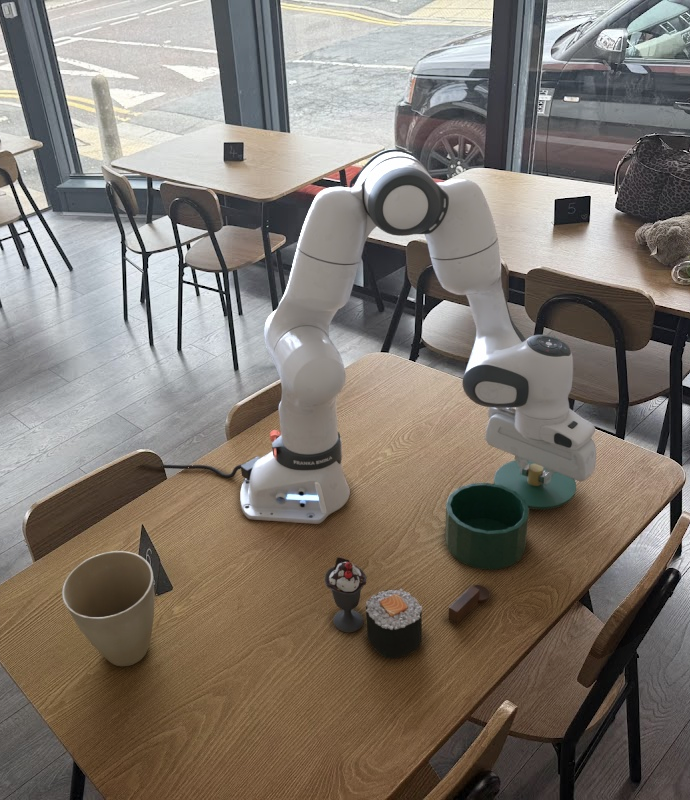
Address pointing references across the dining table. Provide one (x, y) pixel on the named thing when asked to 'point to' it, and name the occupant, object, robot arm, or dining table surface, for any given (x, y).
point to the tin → (486, 525)
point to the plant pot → (113, 604)
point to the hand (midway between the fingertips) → (535, 478)
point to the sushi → (394, 623)
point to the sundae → (346, 593)
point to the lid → (536, 485)
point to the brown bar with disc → (468, 602)
